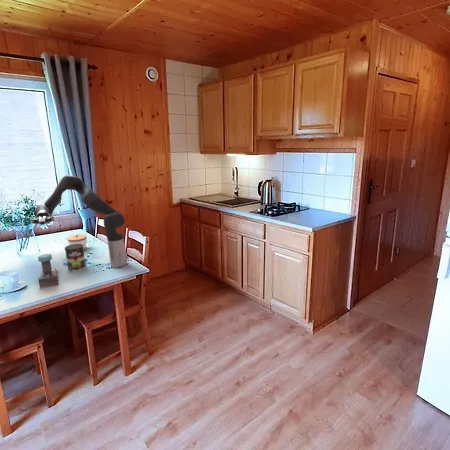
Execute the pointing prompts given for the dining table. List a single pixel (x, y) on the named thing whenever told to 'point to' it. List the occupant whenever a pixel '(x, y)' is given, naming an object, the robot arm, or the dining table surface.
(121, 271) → the dining table surface
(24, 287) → the dining table surface
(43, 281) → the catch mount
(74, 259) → the coffee can
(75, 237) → the lidded bowl
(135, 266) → the dining table surface
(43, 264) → the knob
